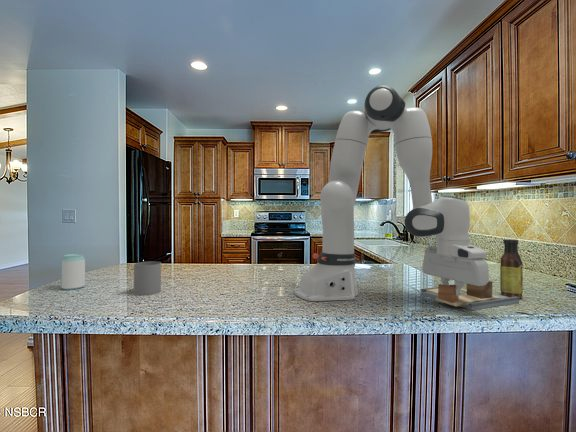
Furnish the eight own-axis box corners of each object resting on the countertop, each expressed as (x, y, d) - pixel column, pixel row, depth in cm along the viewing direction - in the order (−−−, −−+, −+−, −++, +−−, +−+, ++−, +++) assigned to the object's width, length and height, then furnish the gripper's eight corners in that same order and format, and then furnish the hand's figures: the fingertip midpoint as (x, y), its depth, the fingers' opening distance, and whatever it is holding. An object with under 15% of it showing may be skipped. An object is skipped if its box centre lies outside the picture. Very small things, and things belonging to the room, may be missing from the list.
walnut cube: (481, 298, 94) (481, 282, 94) (466, 294, 98) (466, 279, 98) (492, 297, 96) (492, 281, 96) (477, 293, 100) (477, 278, 100)
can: (82, 284, 113) (82, 252, 113) (87, 288, 108) (87, 254, 108) (59, 287, 108) (59, 254, 108) (63, 291, 103) (63, 256, 103)
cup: (128, 293, 102) (128, 264, 102) (148, 288, 109) (148, 260, 109) (147, 296, 99) (147, 266, 98) (165, 290, 106) (166, 262, 106)
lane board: (471, 310, 88) (471, 304, 88) (420, 294, 106) (420, 288, 106) (519, 302, 97) (519, 297, 97) (464, 288, 114) (464, 284, 114)
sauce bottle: (526, 300, 100) (527, 240, 100) (505, 298, 101) (506, 239, 101) (515, 295, 106) (517, 238, 106) (496, 293, 108) (497, 238, 107)
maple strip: (455, 306, 88) (455, 288, 88) (435, 300, 94) (435, 283, 94) (500, 299, 96) (500, 283, 96) (479, 294, 102) (479, 279, 102)
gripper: (418, 246, 101) (417, 287, 101) (477, 253, 82) (476, 304, 82) (432, 245, 103) (431, 285, 103) (492, 252, 84) (492, 302, 84)
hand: (452, 294), depth 92 cm, fingers closed
